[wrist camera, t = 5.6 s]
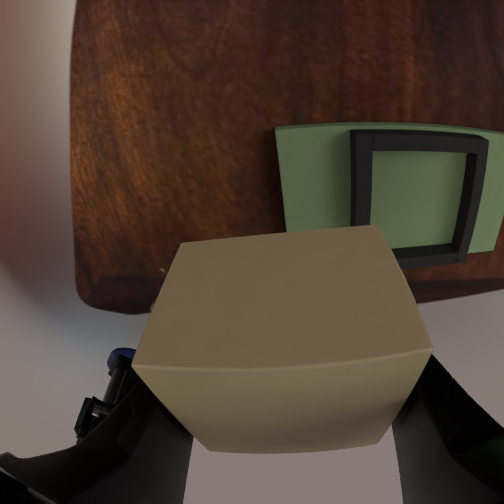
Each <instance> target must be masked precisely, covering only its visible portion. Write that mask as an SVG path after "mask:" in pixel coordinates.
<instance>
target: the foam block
mask: <svg viewBox="0 0 504 504" xmlns="http://www.w3.org/2000/svg"><path fill="white" fill-rule="evenodd" d="M432 352H433V345H432V342H431V339H430V337H429V334H428V332H427V329H426V326H425V324H424V321H423V319H422V316H421V314H420V311H419V309H418V306H417V304H416V302H415V299H414V297H413V295H412V292H411V290H410V288H409V286H408V283H407V281H406V279H405V277H404V275H403V273H402V270H401V268H400V266H399V264H398V262H397V260H396V258H395V256H394V254H393V252H392V250H391V248H390V246H389V244H388V242H387V240H386V238H385V236H384V234H383V232H382V230H381V229H380V227H379V225H365V226H353V227H341V228H329V229H318V230H307V231H296V232H285V233H275V234H264V235H254V236H244V237H234V238H224V239H214V240H205V241H195V242H186V243H181V244H180V247H179V249H178V251H177V253H176V255H175V258H174V260H173V262H172V264H171V267H170V269H169V271H168V274H167V276H166V278H165V281H164V283H163V285H162V288H161V290H160V292H159V295H158V297H157V300H156V302H155V304H154V307H153V309H152V312H151V314H150V317H149V319H148V322H147V324H146V327H145V329H144V332H143V334H142V337H141V340H140V342H139V345H138V347H137V350H136V353H135V355H134V358H133V361H132V364H131V366H132V368H133V369H134V370H135V372H136V373H137V374H138V375H139V376H140V378H141V379H142V380H143V381H144V383H145V384H146V385H147V386H148V387H149V388H150V390H151V391H152V392H153V393H154V394H155V395H156V397H157V398H158V399H159V400H160V401H161V402H162V403H163V404H164V406H165V407H166V408H167V409H168V410H169V411H170V412H171V413H172V414H173V415H174V416H175V418H176V419H177V420H178V421H179V422H180V423H181V424H182V425H183V426H184V427H185V428H186V429H187V430H188V431H189V432H190V433H191V434H192V435H193V436H194V437H195V438H196V439H197V440H198V441H199V442H200V443H201V444H202V445H203V446H205V447H206V448H207V449H208V450H209V451H215V452H229V453H256V454H257V453H258V454H260V453H261V454H275V453H303V452H318V451H328V450H338V449H347V448H354V447H361V446H367V445H373V444H377V443H378V442H379V441H380V439H381V438H382V437H383V435H384V434H385V432H386V431H387V429H388V428H389V426H390V425H391V423H392V422H393V420H394V419H395V417H396V416H397V414H398V413H399V411H400V409H401V408H402V406H403V405H404V403H405V401H406V400H407V398H408V396H409V395H410V393H411V391H412V389H413V388H414V386H415V384H416V382H417V381H418V379H419V377H420V375H421V373H422V371H423V369H424V368H425V366H426V364H427V362H428V360H429V358H430V356H431V354H432Z"/></svg>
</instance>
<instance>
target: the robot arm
mask: <svg viewBox="0 0 504 504" xmlns="http://www.w3.org/2000/svg"><path fill="white" fill-rule="evenodd" d="M132 361H133V360H132V359H130V358H128V357H126V356H124V355H122V354H119V355H118V356H117V358H116V360H115V361H114V363H113V365H112V367H111V368H110V370H109V373H108V374H109V375H110V376H111V380H110V382H109V385H108V388H107V390H106V393H105V396H104V399H103V401H101V400H99V399H97V398H96V397H94V396H93V397H92V399H91V398H85V400H84V403H83V405H82V408H81V411H80V413H79V416H78V419H77V422H76V425H75V427H74V430H75V432H76V434H77V436H76V438H78V439H77V442H76V445H75V446H73V447H70V448H68V449H65V450H61V451H57V452H53V453H49V454H45V455H40V456H36V457H31V458H23V459H22V458H17V457H16V456H14V455H13V454H11V453H9V452H6V453H3V454H1V455H0V467H1V468H2V469H3V470H2V469H1V468H0V504H183V499H184V492H185V486H186V478H187V473H188V467H189V461H190V455H191V449H192V443H193V438H194V436H193V435H192V434H191V433H190V432H189V431H188V430H187V429H186V428H185V427H184V426H183V425H182V424H181V423H180V422H179V421H178V420H177V419H176V418H175V416H174V415H173V414H172V413H171V412H170V411H169V410H168V409H167V408H166V407H165V406H164V404H163V403H162V402H161V401H160V400H159V399H158V398H157V397H156V395H155V394H154V393H153V392H152V391H151V390H150V388H149V387H148V386H147V385H146V384H145V383H144V381H143V380H142V379H141V378H140V376H139V375H138V374H137V373H136V372H135V370H134V369H133V368H132V366H131V364H132ZM92 413H94V414H96V415H97V417H96V416H93V415H92ZM391 424H392V429H393V435H394V440H395V446H396V451H397V458H398V465H399V472H400V476H401V477H400V480H401V488H402V496H403V504H504V428H503V427H502V426H501V425H500V424H499V423H497V422H496V421H495V420H494V419H493V418H492V417H491V416H490V415H489V414H488V413H487V412H486V411H485V410H484V409H483V408H482V407H480V406H479V405H478V404H477V403H476V402H475V401H474V400H473V399H472V398H471V397H470V396H469V395H468V394H467V393H466V391H465V390H464V389H463V388H462V387H461V386H460V385H459V384H458V383H457V381H456V380H455V379H454V378H452V376H451V375H450V374H449V372H448V371H447V370H446V369H445V368H444V367H443V366H442V365H441V363H440V362H439V361H438V360H437V359H436V358H435V357H434V356H433V355H432V354H431V356H430V358H429V360H428V362H427V364H426V366H425V368H424V369H423V371H422V373H421V375H420V377H419V379H418V381H417V382H416V384H415V386H414V388H413V389H412V391H411V393H410V395H409V396H408V398H407V400H406V401H405V403H404V405H403V406H402V408H401V409H400V411H399V413H398V414H397V416H396V417H395V419H394V420H393V422H392V423H391ZM4 470H5V471H4Z"/></svg>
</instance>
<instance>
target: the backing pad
mask: <svg viewBox="0 0 504 504" xmlns="http://www.w3.org/2000/svg"><path fill="white" fill-rule="evenodd" d="M275 137H276V144H277V152H278V161H279V169H280V178H281V186H282V195H283V205H284V214H285V224H286V232H296V231H307V230H318V229H329V228H341V227H353V226H365V225H379V227H380V229H381V230H382V232H383V234H384V236H385V238H386V240H387V242H388V244H389V246H390V248H391V250H392V252H393V254H394V256H395V258H396V260H397V262H398V264H399V266H400V268H401V269H410V268H419V267H428V266H436V265H444V264H452V263H461V262H465V260H466V257H467V254H468V253H475V252H483V251H492V250H493V249H494V246H495V243H496V240H497V236H498V233H499V229H500V226H501V222H502V218H503V214H504V132H499V131H493V130H486V129H479V128H471V127H462V126H452V125H440V124H426V123H406V122H339V123H318V124H303V125H290V126H279V127H275Z"/></svg>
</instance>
